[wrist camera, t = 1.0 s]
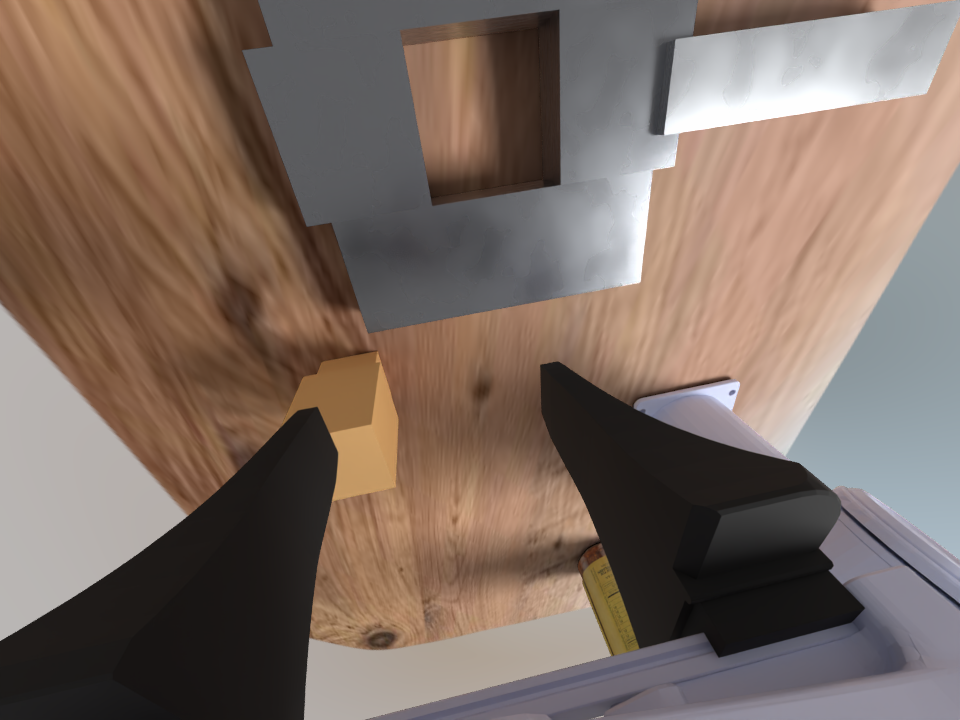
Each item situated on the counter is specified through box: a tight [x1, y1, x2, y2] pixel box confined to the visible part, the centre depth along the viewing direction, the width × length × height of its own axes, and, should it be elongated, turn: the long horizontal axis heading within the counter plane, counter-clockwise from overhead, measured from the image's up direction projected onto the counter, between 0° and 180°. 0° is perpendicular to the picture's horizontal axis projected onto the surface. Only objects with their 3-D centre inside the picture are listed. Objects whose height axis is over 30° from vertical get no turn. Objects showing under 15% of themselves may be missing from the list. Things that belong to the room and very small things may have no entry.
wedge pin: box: [281, 351, 398, 501], centre depth 19 cm, size 4×4×7 cm
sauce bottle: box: [578, 543, 639, 656], centre depth 29 cm, size 6×6×20 cm
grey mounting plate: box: [242, 0, 960, 333], centre depth 15 cm, size 16×27×3 cm, turn 97°
